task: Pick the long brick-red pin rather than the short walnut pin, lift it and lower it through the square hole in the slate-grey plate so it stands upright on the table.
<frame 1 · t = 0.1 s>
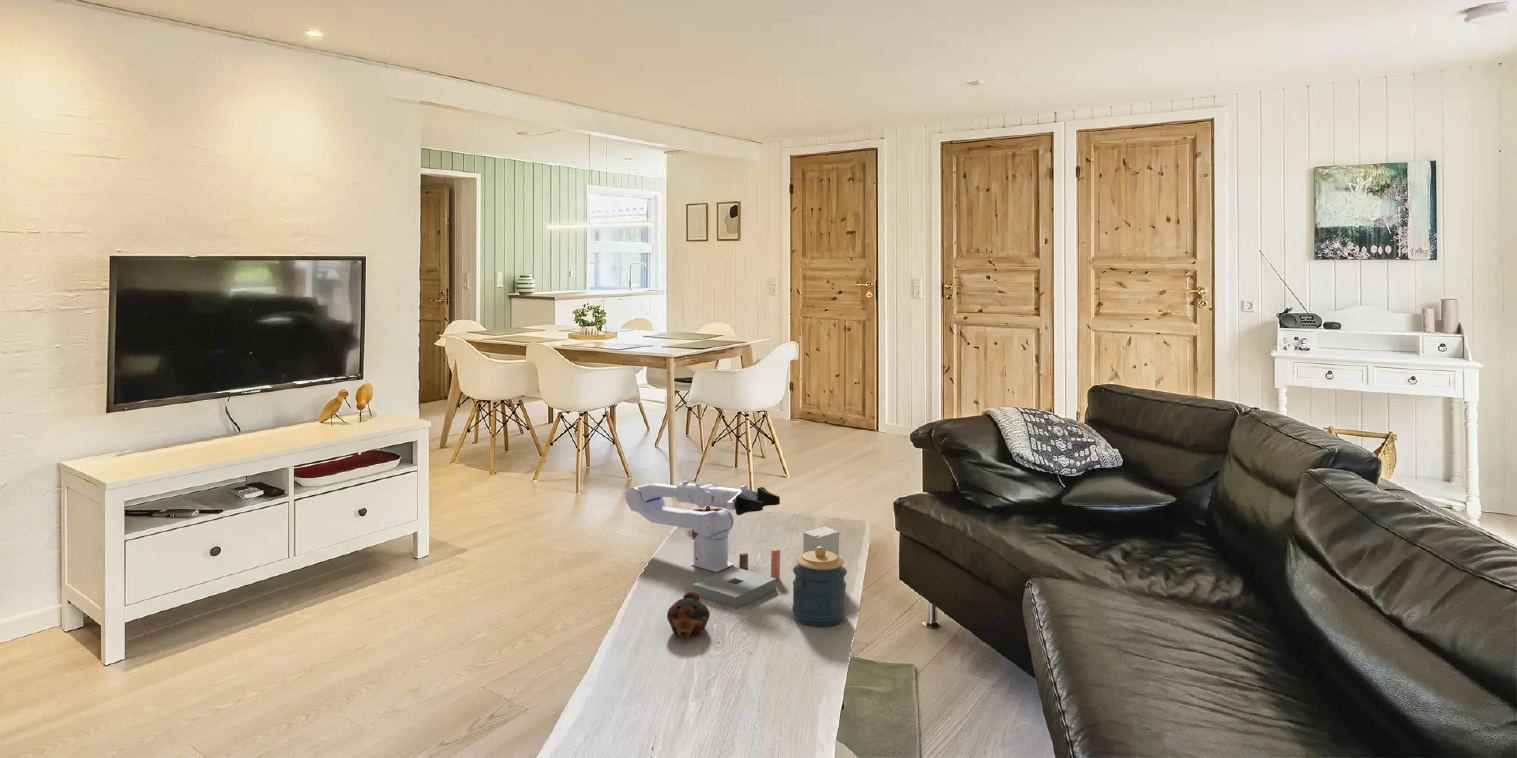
hand: (770, 503, 226), 22 cm above the table, tool horizontal, fingers open, 7 cm apart
decorative turtle: (688, 633, 195), on the table
short pin: (743, 569, 237), on the table
hole plate: (735, 592, 220), on the table
canister: (818, 617, 205), on the table
skincare box: (820, 585, 227), on the table
long pin: (775, 578, 231), on the table
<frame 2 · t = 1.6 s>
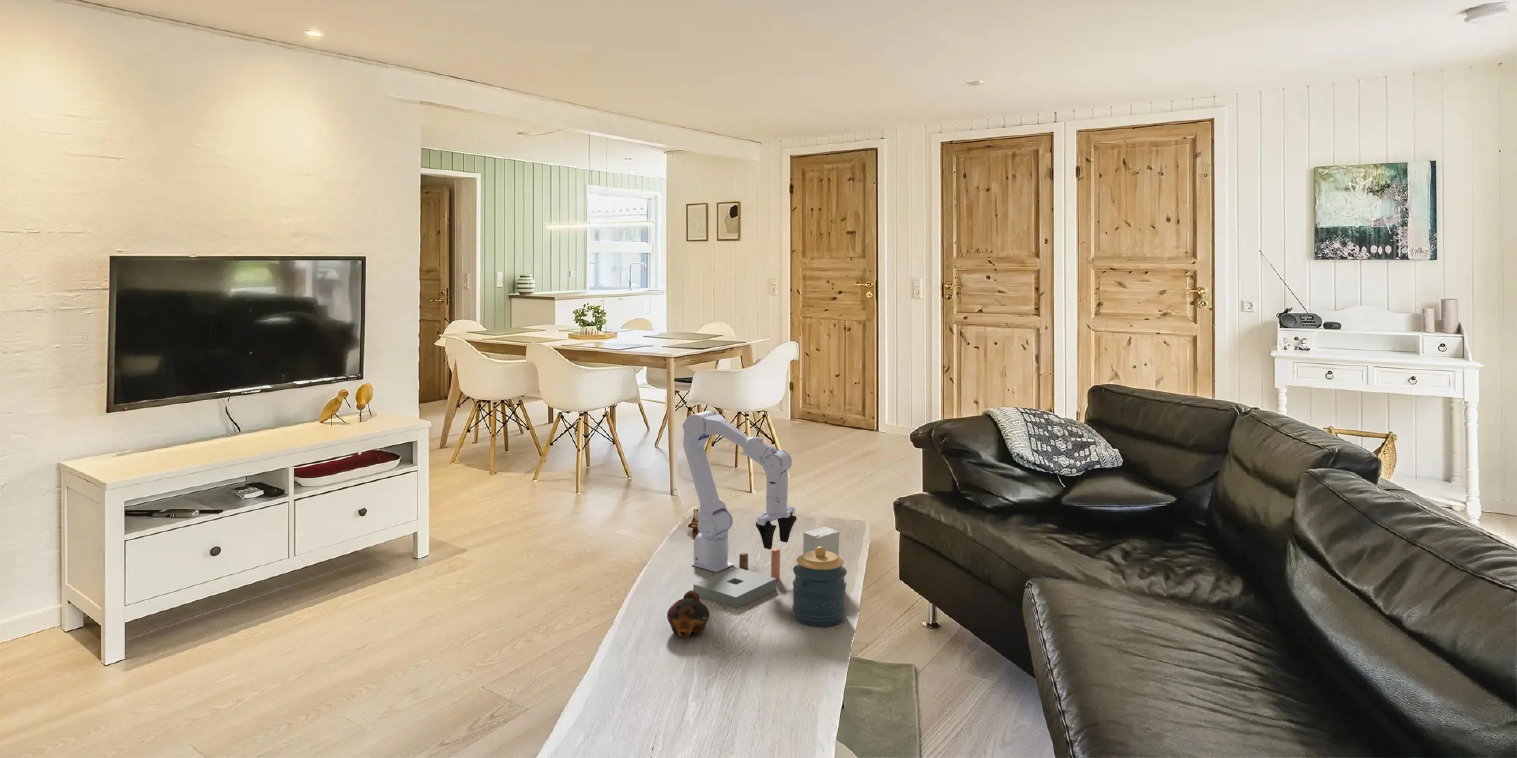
hand: (775, 545, 230), 9 cm above the table, tool pointing down, fingers open, 7 cm apart
nothing on the table moved.
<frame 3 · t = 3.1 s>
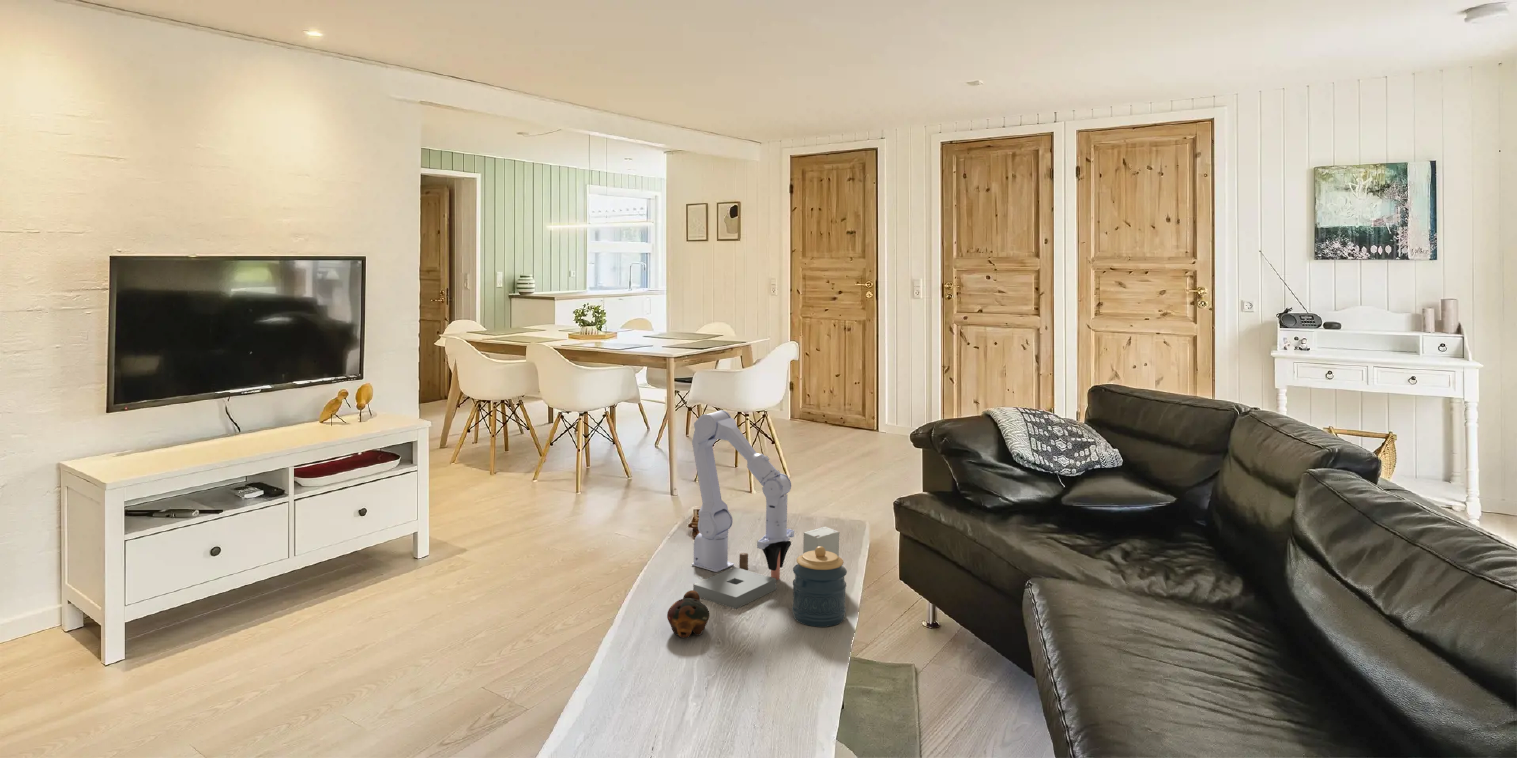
hand: (775, 568, 230), 3 cm above the table, tool pointing down, fingers closed on long pin, 2 cm apart
long pin: (775, 578, 231), on the table, touching gripper
everything else where it was.
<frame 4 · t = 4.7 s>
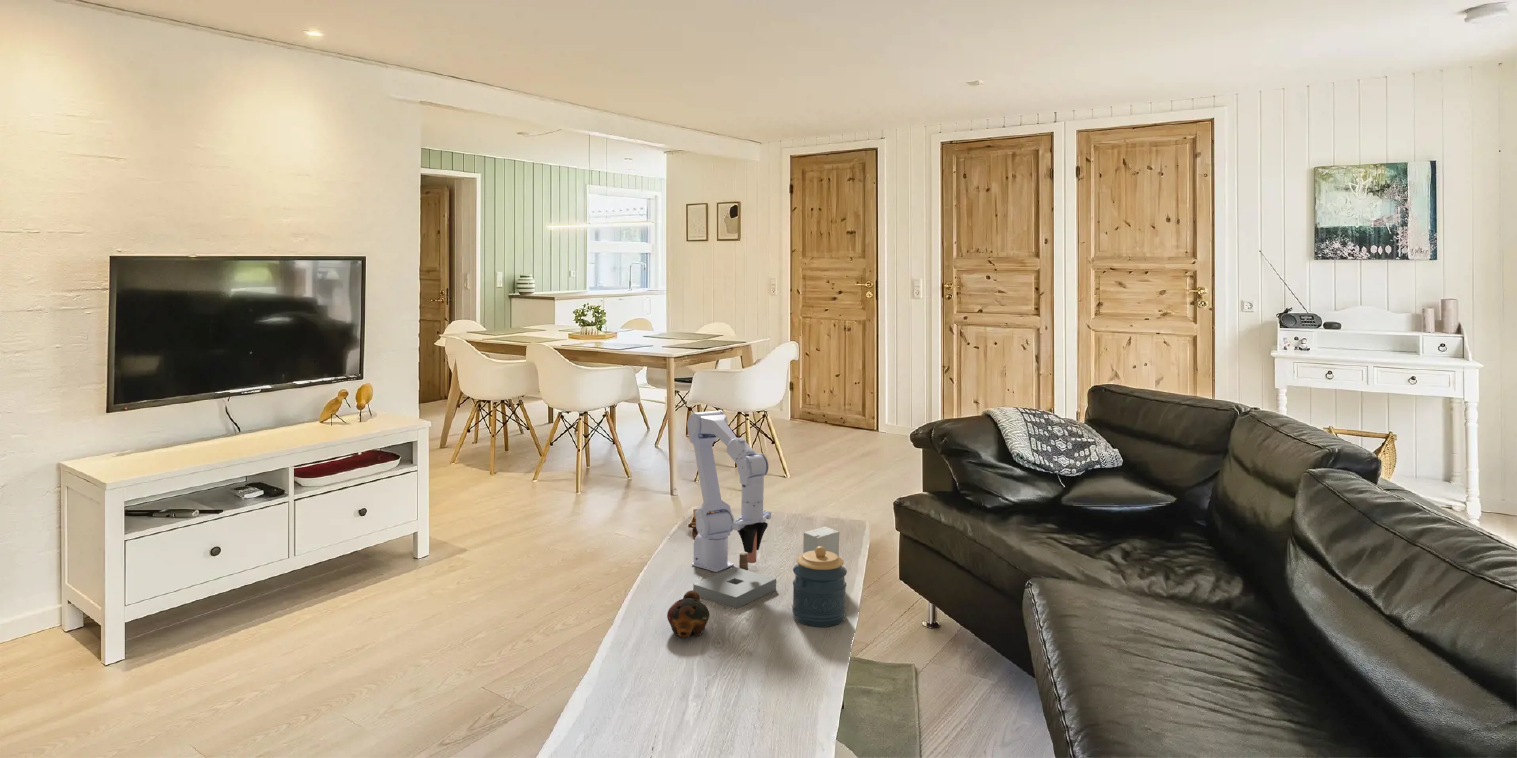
hand: (751, 550, 223), 10 cm above the table, tool pointing down, fingers closed on long pin, 2 cm apart
long pin: (751, 561, 223), point 7 cm above the table, touching gripper
everything else where it was.
when the fingers open (4 cm above the table, at t = 6.7 s): long pin drops 1 cm, resting in hole plate.
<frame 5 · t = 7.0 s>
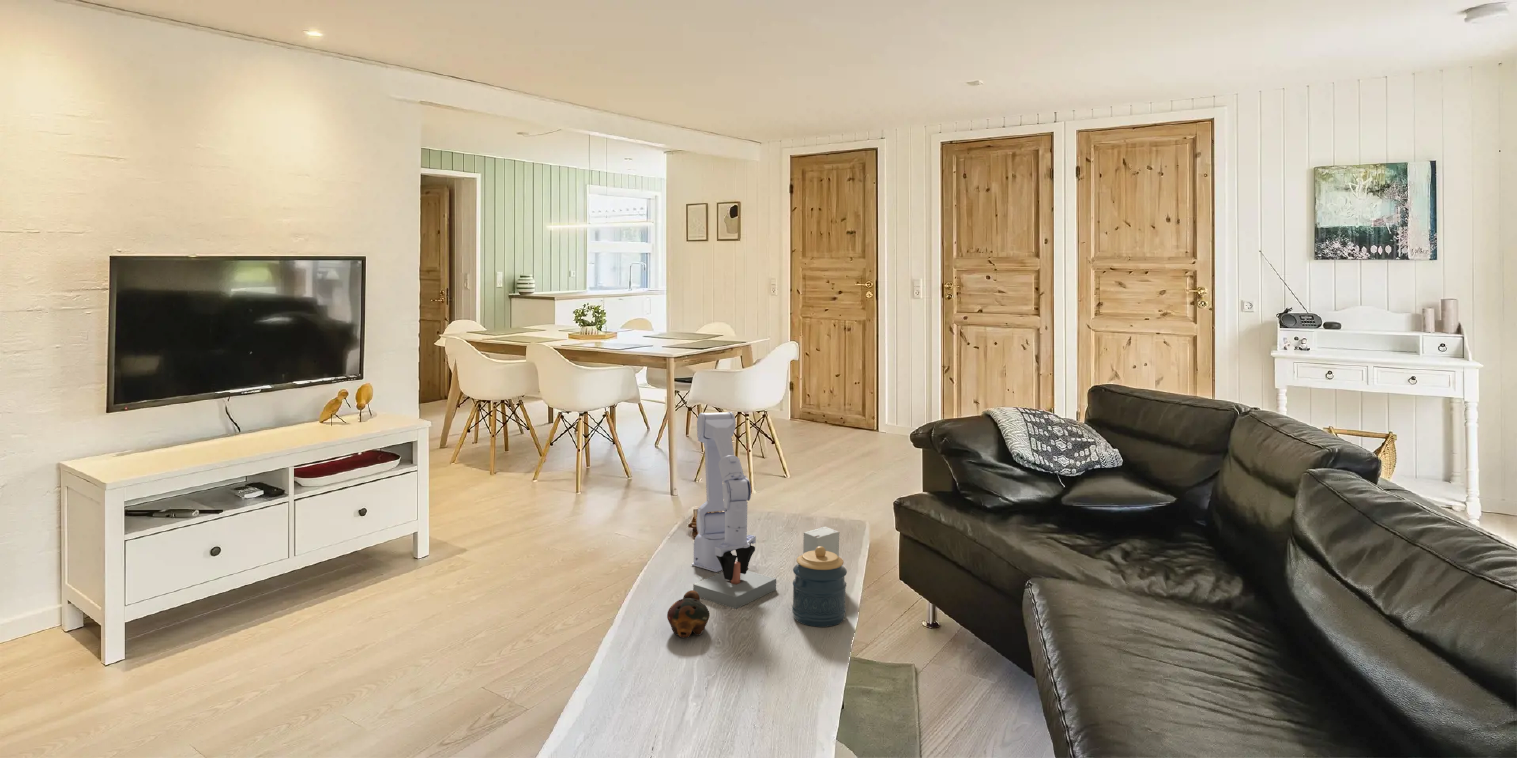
hand: (735, 576, 220), 4 cm above the table, tool pointing down, fingers open, 5 cm apart
long pin: (735, 592, 220), resting in hole plate
everything else where it was.
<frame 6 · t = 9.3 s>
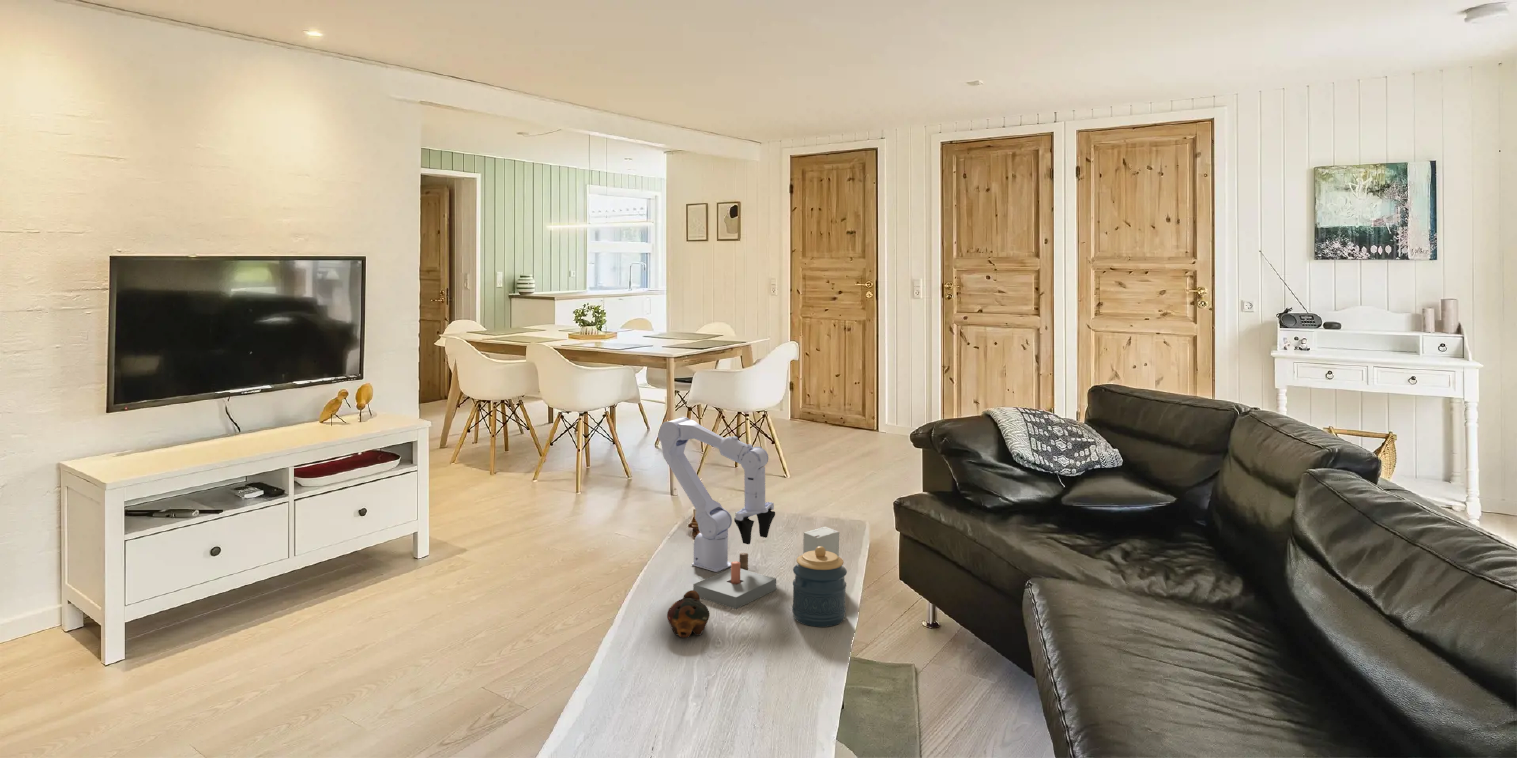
hand: (755, 540, 234), 9 cm above the table, tool pointing down, fingers open, 7 cm apart
nothing on the table moved.
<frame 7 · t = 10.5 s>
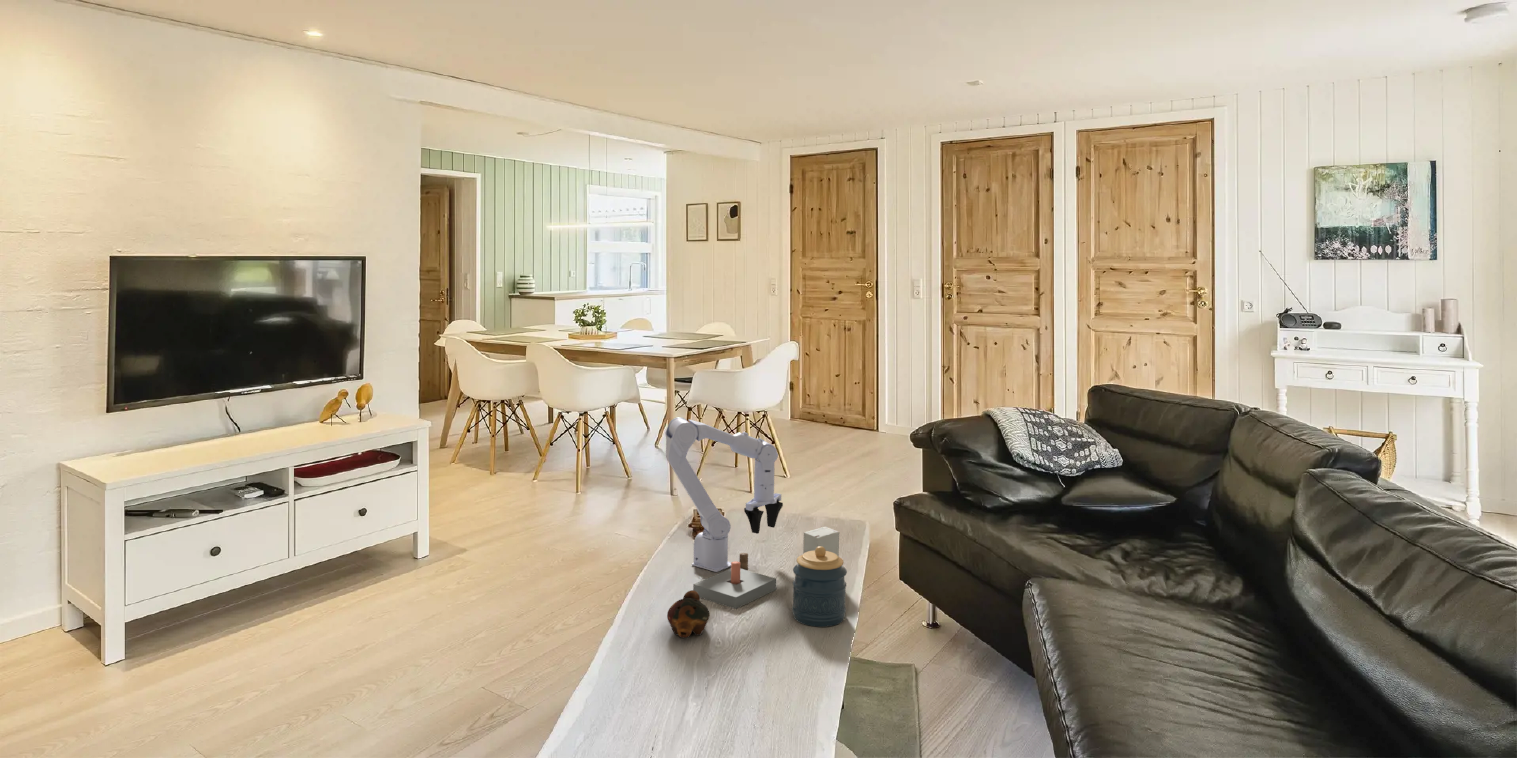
hand: (763, 529, 243), 9 cm above the table, tool pointing down, fingers open, 7 cm apart
nothing on the table moved.
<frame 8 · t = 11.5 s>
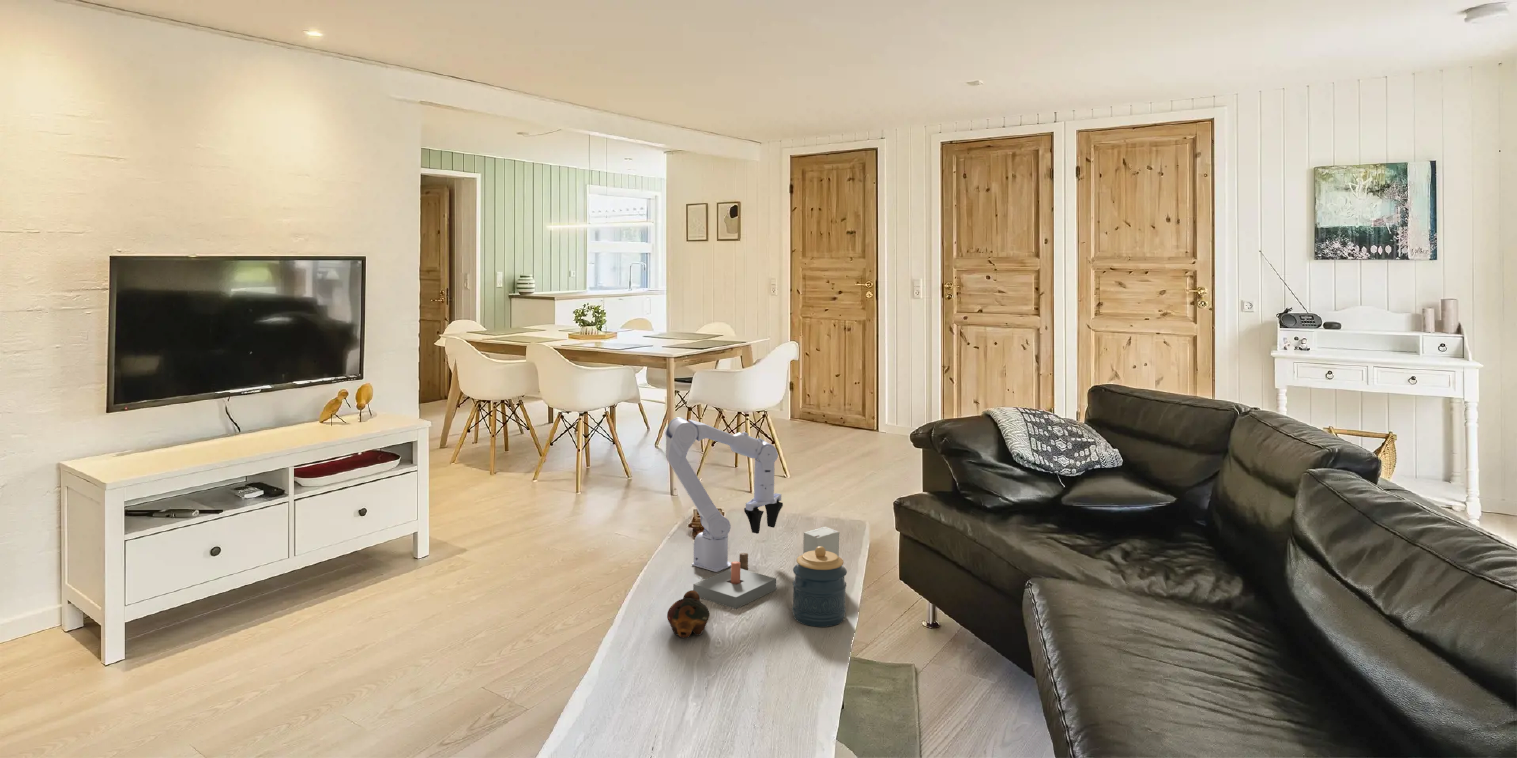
hand: (763, 529, 243), 9 cm above the table, tool pointing down, fingers open, 7 cm apart
nothing on the table moved.
at the end: long pin 0.1 cm off-centre on the hole plate, point 0.0 cm above the hole plate's base; long pin tilted 0°; short pin moved 0.0 cm from its start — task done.
